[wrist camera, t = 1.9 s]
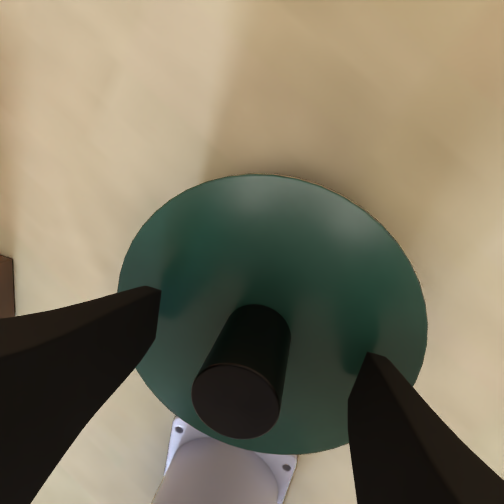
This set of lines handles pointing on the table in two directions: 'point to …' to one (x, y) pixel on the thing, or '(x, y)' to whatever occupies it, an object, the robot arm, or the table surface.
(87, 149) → the table surface
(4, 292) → the block
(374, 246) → the lid
